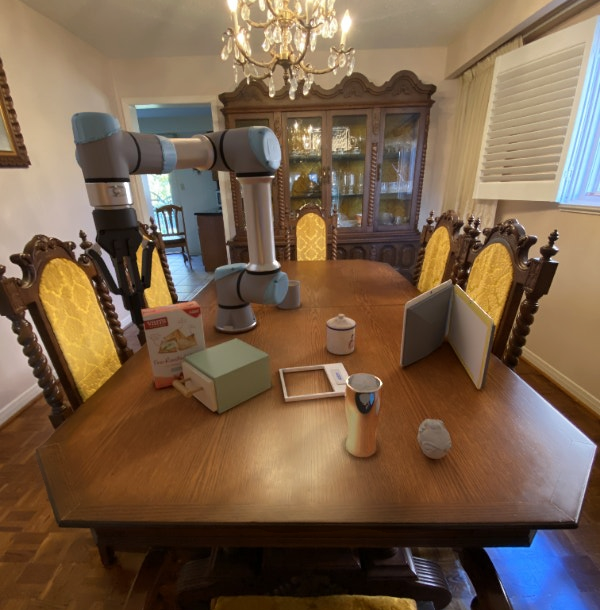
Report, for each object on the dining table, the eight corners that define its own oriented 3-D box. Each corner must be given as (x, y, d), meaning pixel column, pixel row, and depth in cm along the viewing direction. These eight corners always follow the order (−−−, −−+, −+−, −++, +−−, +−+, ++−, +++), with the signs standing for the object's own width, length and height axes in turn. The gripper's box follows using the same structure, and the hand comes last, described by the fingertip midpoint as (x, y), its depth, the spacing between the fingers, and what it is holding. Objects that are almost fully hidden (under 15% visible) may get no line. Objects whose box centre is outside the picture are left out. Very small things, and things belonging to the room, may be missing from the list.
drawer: (196, 420, 77) (191, 390, 74) (169, 396, 86) (164, 368, 83) (262, 387, 89) (260, 360, 86) (233, 369, 98) (230, 344, 95)
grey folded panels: (495, 391, 86) (510, 318, 79) (405, 388, 88) (412, 317, 81) (452, 334, 118) (461, 278, 111) (387, 333, 120) (392, 278, 113)
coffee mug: (299, 300, 156) (298, 279, 152) (301, 308, 147) (300, 285, 143) (269, 302, 155) (268, 280, 151) (269, 310, 145) (268, 287, 142)
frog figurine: (440, 440, 70) (444, 412, 68) (455, 467, 64) (461, 436, 61) (410, 442, 70) (413, 413, 68) (423, 468, 64) (427, 438, 61)
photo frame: (357, 390, 86) (285, 397, 83) (356, 393, 86) (285, 401, 84) (341, 362, 99) (279, 368, 97) (341, 365, 100) (279, 371, 97)
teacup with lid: (354, 356, 105) (356, 320, 101) (324, 354, 106) (325, 319, 102) (355, 339, 116) (356, 307, 112) (328, 338, 118) (328, 306, 113)
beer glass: (340, 436, 72) (341, 373, 67) (372, 433, 73) (377, 371, 67) (347, 460, 66) (349, 393, 60) (383, 457, 66) (388, 391, 61)
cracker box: (156, 390, 90) (141, 315, 82) (154, 380, 95) (139, 308, 87) (210, 376, 96) (200, 305, 88) (205, 367, 101) (195, 299, 93)
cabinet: (219, 414, 80) (214, 378, 77) (189, 389, 90) (184, 357, 87) (271, 387, 90) (269, 354, 87) (239, 368, 100) (236, 338, 97)
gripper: (79, 210, 59) (111, 337, 67) (155, 205, 67) (174, 319, 76) (69, 209, 64) (99, 326, 73) (140, 205, 72) (160, 311, 81)
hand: (138, 322), depth 74 cm, fingers closed
